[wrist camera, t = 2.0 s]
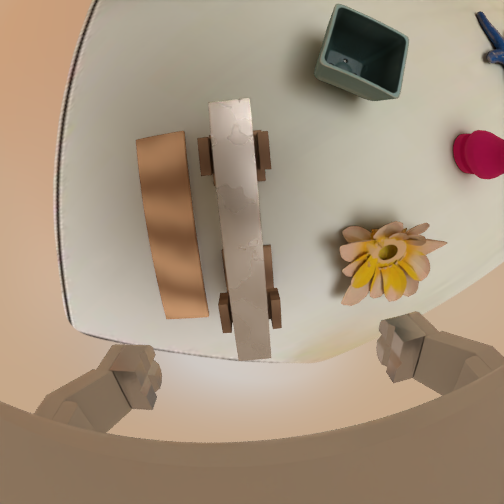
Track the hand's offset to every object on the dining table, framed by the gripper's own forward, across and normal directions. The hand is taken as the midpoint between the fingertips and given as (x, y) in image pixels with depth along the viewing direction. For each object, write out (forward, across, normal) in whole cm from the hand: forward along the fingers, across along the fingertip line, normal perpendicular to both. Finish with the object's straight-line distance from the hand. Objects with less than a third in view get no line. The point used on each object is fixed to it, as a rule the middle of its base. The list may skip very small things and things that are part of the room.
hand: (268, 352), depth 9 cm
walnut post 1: (+26, +1, -8) cm, 27 cm away
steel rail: (+16, +1, 0) cm, 16 cm away
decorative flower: (+26, -16, +6) cm, 31 cm away
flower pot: (+26, -13, -18) cm, 34 cm away
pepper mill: (+26, -34, -8) cm, 44 cm away
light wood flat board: (+26, +10, 0) cm, 28 cm away
